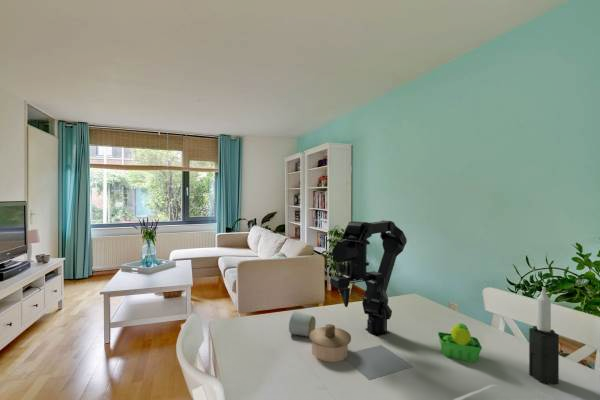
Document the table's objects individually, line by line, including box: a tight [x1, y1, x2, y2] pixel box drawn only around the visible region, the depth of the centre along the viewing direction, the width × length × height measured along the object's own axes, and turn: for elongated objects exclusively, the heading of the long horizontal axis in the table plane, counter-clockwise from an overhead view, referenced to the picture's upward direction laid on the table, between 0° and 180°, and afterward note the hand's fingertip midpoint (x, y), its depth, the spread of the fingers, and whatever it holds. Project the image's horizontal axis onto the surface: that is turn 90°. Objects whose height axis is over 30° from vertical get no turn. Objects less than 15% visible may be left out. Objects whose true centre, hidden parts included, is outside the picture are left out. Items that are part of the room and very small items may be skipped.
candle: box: [528, 286, 560, 385], centre depth 81 cm, size 5×5×25 cm
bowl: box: [311, 341, 349, 363], centre depth 93 cm, size 11×11×5 cm
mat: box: [344, 344, 415, 381], centre depth 89 cm, size 16×14×1 cm
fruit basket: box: [437, 322, 483, 363], centre depth 93 cm, size 11×9×11 cm
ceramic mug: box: [288, 310, 317, 338], centre depth 108 cm, size 11×8×8 cm
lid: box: [309, 323, 352, 348], centre depth 93 cm, size 13×13×4 cm
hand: (357, 304), depth 100 cm, fingers open, 9 cm apart
